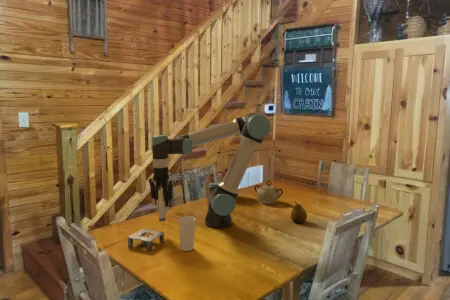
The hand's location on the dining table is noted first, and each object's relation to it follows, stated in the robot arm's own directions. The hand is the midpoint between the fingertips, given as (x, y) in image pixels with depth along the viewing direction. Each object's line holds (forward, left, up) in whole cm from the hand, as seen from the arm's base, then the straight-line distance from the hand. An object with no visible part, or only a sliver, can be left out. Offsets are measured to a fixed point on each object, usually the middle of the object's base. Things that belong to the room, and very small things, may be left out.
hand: (162, 212), depth 184 cm
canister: (-4, -77, -12) cm, 78 cm away
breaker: (+1, +13, -10) cm, 16 cm away
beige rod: (0, 0, -4) cm, 4 cm away
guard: (+1, +13, -12) cm, 18 cm away
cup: (-19, +10, -12) cm, 25 cm away
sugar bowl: (-33, -78, -12) cm, 85 cm away
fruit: (-59, -49, -12) cm, 78 cm away
